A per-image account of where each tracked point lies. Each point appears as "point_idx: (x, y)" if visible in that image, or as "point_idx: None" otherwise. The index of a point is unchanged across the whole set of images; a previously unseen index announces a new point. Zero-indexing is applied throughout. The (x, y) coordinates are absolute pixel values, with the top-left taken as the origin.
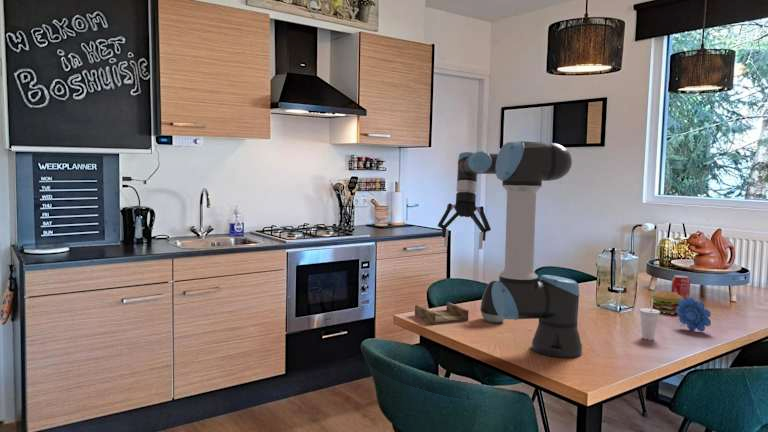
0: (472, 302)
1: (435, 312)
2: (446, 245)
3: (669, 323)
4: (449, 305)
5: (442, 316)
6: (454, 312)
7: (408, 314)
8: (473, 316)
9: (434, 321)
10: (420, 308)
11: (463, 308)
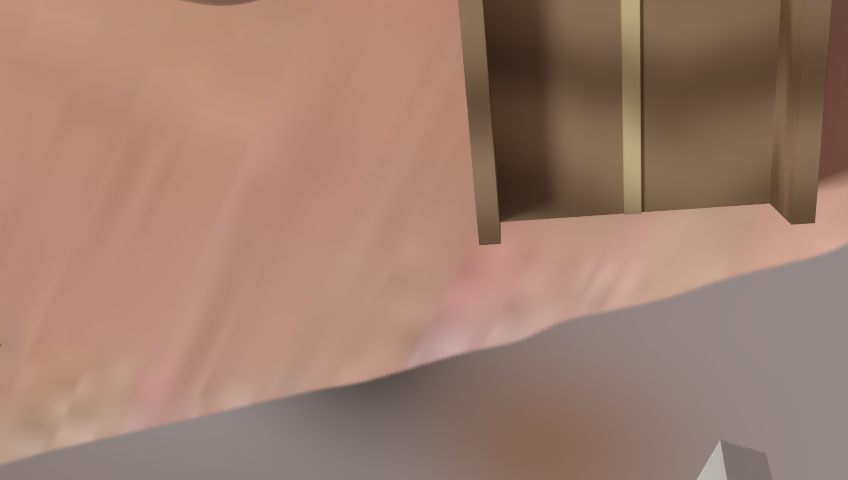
0: (188, 409)
1: (634, 157)
2: (739, 459)
3: None
4: (497, 194)
5: (640, 31)
6: (492, 105)
7: (813, 235)
8: (348, 53)
9: None
10: (819, 126)
11: (461, 9)
